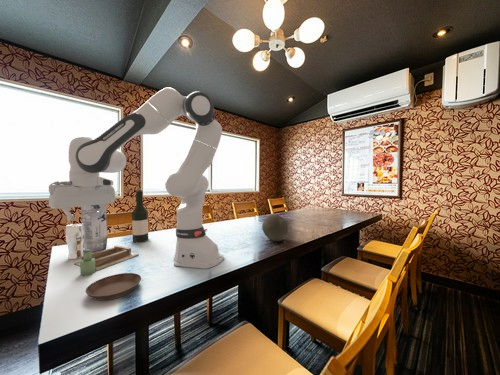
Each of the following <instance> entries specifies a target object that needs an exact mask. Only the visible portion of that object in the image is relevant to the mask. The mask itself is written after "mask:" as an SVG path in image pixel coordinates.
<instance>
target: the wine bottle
mask: <svg viewBox="0 0 500 375" xmlns="http://www.w3.org/2000/svg"><path fill="white" fill-rule="evenodd" d="M135 194H136V196H135V197H136V205H135V208H134V209H133V211H132V213H131V223H132V224H131V226H132V227H131V228H132V243H136V242H137V243H143V242H144V243H145V242H147V241H148V240H149V215H148V214H149V213H148V210H147V209H146V207H145V206H144V196H143V195H144V193H143V190H142V189H137V190H136V192H135Z"/></svg>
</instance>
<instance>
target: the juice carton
mask: <svg viewBox="0 0 500 375" xmlns="http://www.w3.org/2000/svg"><path fill="white" fill-rule="evenodd" d="M80 207H81V211H80V212H81V224H85V242H84V250H88V249H91V251H92V253H93V252H94V253H95V252H99V251H103V250H107V244H108V227H107V226H108V224H107V222H108V221H107V219H108V218H107V206H106V207H105V209H104V211H103V215H102V216H97V215H96V214H97V213H96V211H99V209H100V207H99V205H90V206H80ZM102 249H103V250H102Z"/></svg>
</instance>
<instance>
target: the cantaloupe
mask: <svg viewBox="0 0 500 375" xmlns="http://www.w3.org/2000/svg"><path fill="white" fill-rule="evenodd" d="M261 224H262V226H261V228H262V232H263V234H264V235H265V237H266V238H268V239H269V240H270V241H272V242H281V241H283V240H284V239H285V238H286V237H287V235H288V232H289V230H288V223H287V222H286V220H285V219H284V218H283V217H282V216H280V215H277V214H274V215H269V216H267V217H266V218H265V219H264V220H263V222H262V223H261Z"/></svg>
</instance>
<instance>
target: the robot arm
mask: <svg viewBox="0 0 500 375" xmlns="http://www.w3.org/2000/svg"><path fill="white" fill-rule="evenodd" d="M181 116H182V117H184V118H185V119H186V120H188V121H190V122H194V123H195V126H196V127H195V133H194V134H193V138H192V140H191V143H190V145H189V148H188V150H187V151H186V152H187V153H186V155H185V157H184V158H183V159H182V161H181V162H180V164H179V165H178V167H177V168H176V169H175V170H174V172H172V173H171V174H169V175H168V176H167V177H166V179H165V184H164V186H165V190H166V192H167V193H168V194H169V195H170V196H172V197H176V198H181V201H180V204H179V205H178V208H177V209H176V227H175V236H176V243H175V252H174V253H175V254H174V256H173V266H176V267H183V268H184V267H186V268H194V269H202V270H203V269H204V270H205V269H207V270H208V269H210V268H212V267H215V266H217V265H220V263H221V262H223V260H224V259H225V255H224V254H221V253H220V251H219V247H218V245H217V243H215V241H213V240H212V239H211V238H210V237H208V235H206V234H207V233H206V232H207V231H208V228H206V229H205V227H204V225H203V207H204V203H205V202H204V201H205V197H206V192H207V190H208V188H209V180H208V178H207V177H206V176H205V175H203V174H204V173H205V172H206V170H207V169H208V168H209V167H210V166H211V165H212V162H213V160H214V157H215V154H216V153H217V150H218V148H219V144H220V141H221V138H222V133H223V127H222V125H221V123H219V122H218V121H217V120H216V116H215V107H214V102H213V100H212V98H211V97H210V96H209V95H208V94H207V93H206V92H204V91H197V90H196V91H192V92H191V93H189V94H188V95H187V96H184V95H183V94H181V93H180V92H179V91H178V90H176V89H175V88H174V87H173V88H172V87H170V86H169V87H164V88H163V89H160V90H158V92H156V93H155V94H154V95H152V96H151V97H150V98H149V99H147V101H145V103H143V104H142V105H141V106H139V108H137V109H136V110H134V111H133V112H131V113H129V114H127V115H126V116H124V117H123V118H121V119H120V120H119V121H118V122H115V124H113V126H112V125H111V126H110V128H108V129H107V130H105V132H103V133H102V134H101V135H99V136H98V137H96V138H93V137H84V136H81V137H76V138H73V139H72V140H71V141H70V143H69V146H68V163H69V166H70V168H69V172H68V175H69V176H68V178H69V180H68V181H54V182H51V183H50V184H49V185H48V192H49V197H48V206H49V207H50V208H51V209H52V210H53V209H54V210H59V209H60V210H61V209H62V212H63V213H64V214H65V215H66V219H67V221H74V220H75V217H76V216H75V214H72V213H71V210H72V208H76V207H77V208H79V207H82V206H90V205H99V207H100V209H99V211H96V213H97V214H96V215H97V216H102V215H103V211H104V209H105V207H106V208H107V205H110V204H114V203H115V202H116V190H115V187H114V186H113V185H114V181H113V180H111V179H109V178H105V177H101V176H100V173H105V174H106V173H107V174H108V173H109V174H110V173H112V174H115V173H120V172H122V171H123V170H124V169H125V168H126V166H127V162H128V159H127V156H126V155H125V153H124V152H123V151H121V150H120V149H121V148H122V147H123V146H124V145H126V143H128V142H129V141H130V140H131V139H133V138H135V137H138V136H141V135H158V134H159V133H161V132H163V131H165V129H167V128H168V127H169V126H170V125H171V124H172V123H173V122H174V121H175V120H176V119H177V118H179V117H181Z"/></svg>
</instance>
